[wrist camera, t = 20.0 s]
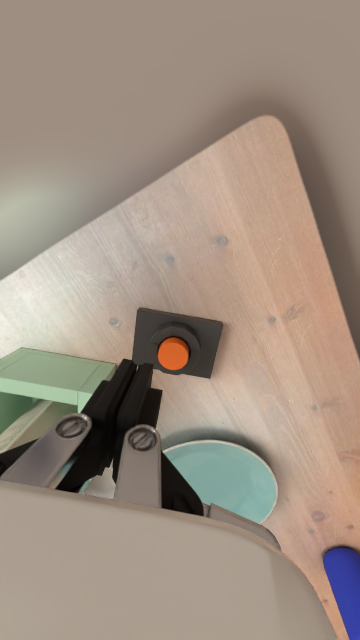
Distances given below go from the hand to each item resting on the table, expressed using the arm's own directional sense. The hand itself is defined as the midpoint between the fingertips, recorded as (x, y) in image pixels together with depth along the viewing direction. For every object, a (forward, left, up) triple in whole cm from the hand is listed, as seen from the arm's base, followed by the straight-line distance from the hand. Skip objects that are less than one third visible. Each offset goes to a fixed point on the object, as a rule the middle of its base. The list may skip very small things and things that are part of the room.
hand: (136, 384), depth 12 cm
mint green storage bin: (-13, -17, -17) cm, 28 cm away
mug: (+41, -43, -18) cm, 62 cm away
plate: (+11, -29, -18) cm, 35 cm away
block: (+2, -5, -17) cm, 18 cm away
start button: (+2, -5, -15) cm, 16 cm away
